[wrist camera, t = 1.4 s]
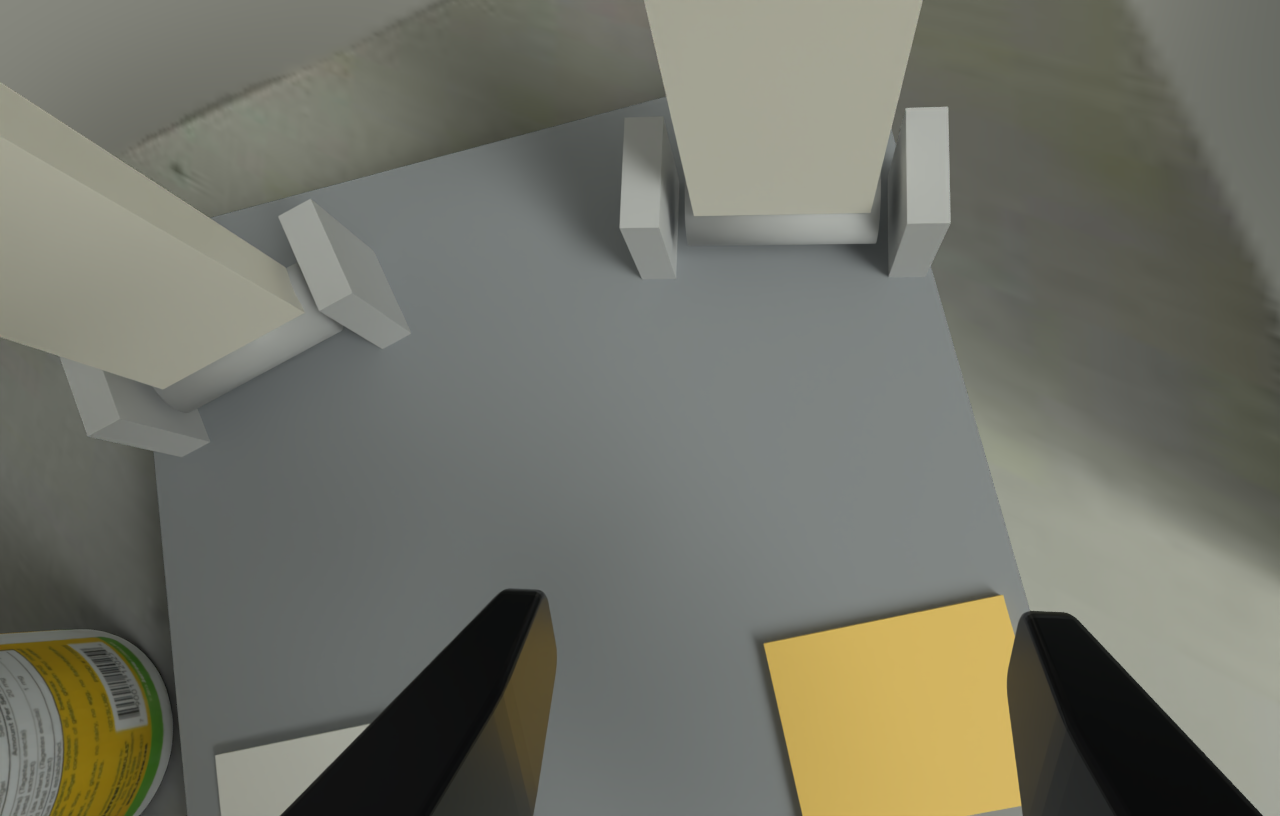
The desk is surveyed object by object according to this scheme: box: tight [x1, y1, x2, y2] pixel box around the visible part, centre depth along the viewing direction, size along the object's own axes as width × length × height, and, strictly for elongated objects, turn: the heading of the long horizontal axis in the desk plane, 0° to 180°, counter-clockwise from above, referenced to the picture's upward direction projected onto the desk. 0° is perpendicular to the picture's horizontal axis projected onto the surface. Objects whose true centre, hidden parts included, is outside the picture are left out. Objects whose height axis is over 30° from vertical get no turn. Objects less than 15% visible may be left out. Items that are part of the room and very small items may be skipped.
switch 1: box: [0, 82, 343, 413], centre depth 16 cm, size 2×4×12 cm, turn 116°
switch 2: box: [644, 0, 923, 246], centre depth 15 cm, size 2×4×12 cm, turn 88°
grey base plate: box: [59, 97, 1030, 816], centre depth 21 cm, size 18×19×5 cm
